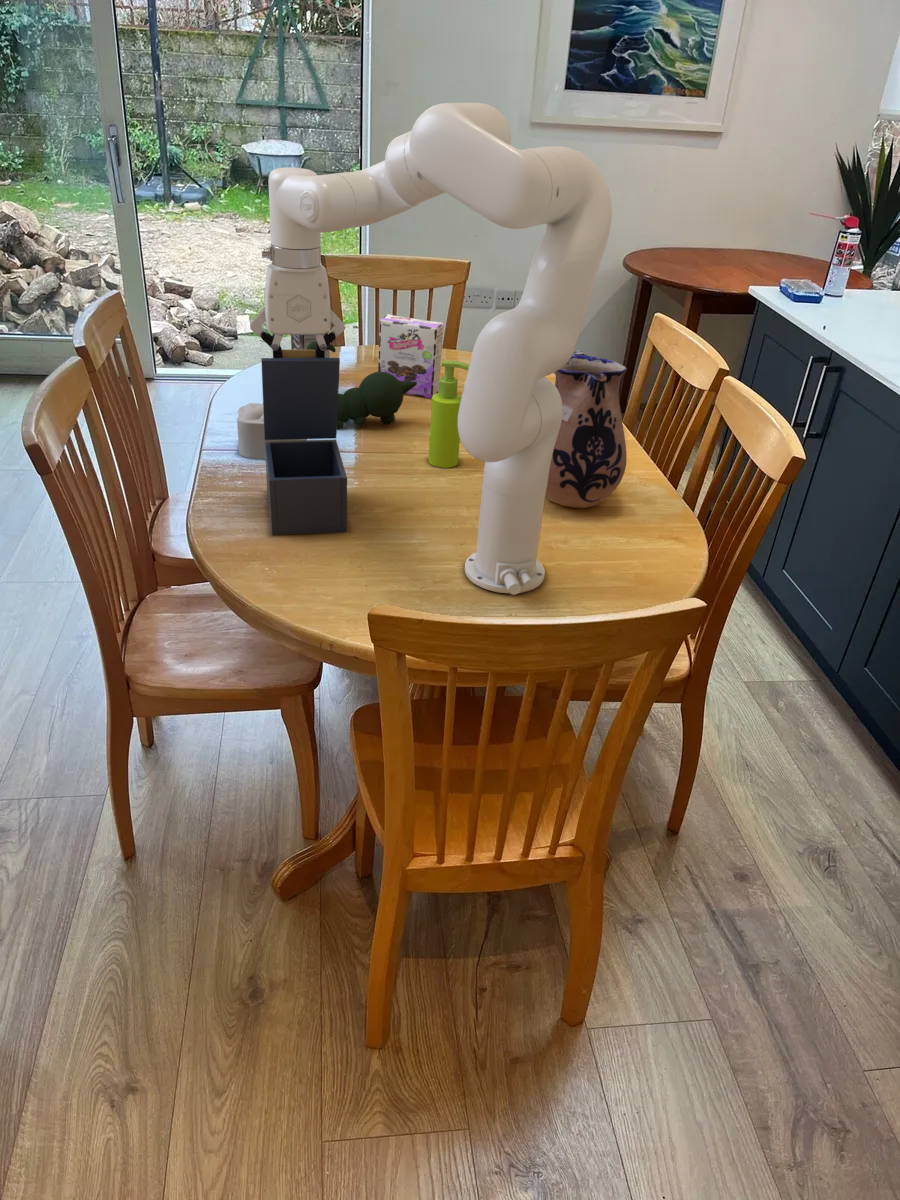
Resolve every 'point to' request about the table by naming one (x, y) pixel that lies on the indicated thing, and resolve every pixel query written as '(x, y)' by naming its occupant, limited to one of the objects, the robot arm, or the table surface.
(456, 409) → the soap dispenser
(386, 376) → the toy figurine
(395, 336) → the candy box
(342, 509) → the chest
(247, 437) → the lumpy-topped squat cylinder
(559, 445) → the ceramic pitcher
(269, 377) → the lid
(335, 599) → the table surface
